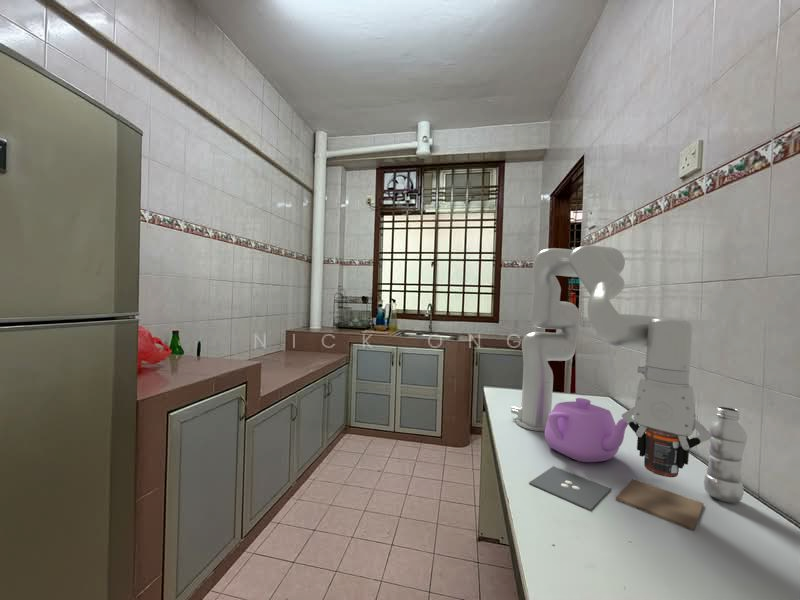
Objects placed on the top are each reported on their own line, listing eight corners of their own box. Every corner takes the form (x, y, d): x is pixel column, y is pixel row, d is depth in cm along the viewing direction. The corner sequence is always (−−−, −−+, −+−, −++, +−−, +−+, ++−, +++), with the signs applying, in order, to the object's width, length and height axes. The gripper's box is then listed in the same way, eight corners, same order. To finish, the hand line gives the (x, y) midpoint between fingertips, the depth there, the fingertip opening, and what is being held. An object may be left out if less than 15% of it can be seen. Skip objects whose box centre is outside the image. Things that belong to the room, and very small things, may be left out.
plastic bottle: (695, 490, 82) (700, 404, 82) (722, 491, 82) (727, 405, 82) (723, 507, 75) (728, 413, 75) (752, 507, 76) (757, 414, 76)
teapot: (524, 446, 102) (527, 394, 102) (575, 438, 111) (578, 390, 111) (598, 486, 81) (602, 420, 81) (653, 472, 90) (657, 413, 90)
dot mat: (528, 483, 81) (529, 482, 81) (553, 467, 90) (553, 466, 90) (590, 510, 71) (590, 509, 71) (611, 489, 80) (611, 488, 80)
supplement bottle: (684, 480, 72) (688, 425, 72) (652, 476, 73) (655, 421, 73) (668, 467, 78) (672, 416, 78) (638, 463, 79) (641, 412, 79)
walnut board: (615, 499, 76) (615, 497, 76) (632, 480, 85) (632, 478, 85) (693, 530, 66) (693, 528, 66) (703, 505, 75) (703, 503, 75)
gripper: (615, 370, 79) (610, 450, 79) (718, 387, 67) (713, 482, 67) (625, 367, 84) (620, 442, 85) (722, 382, 72) (717, 471, 72)
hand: (661, 459), depth 76 cm, fingers closed on supplement bottle, 6 cm apart
